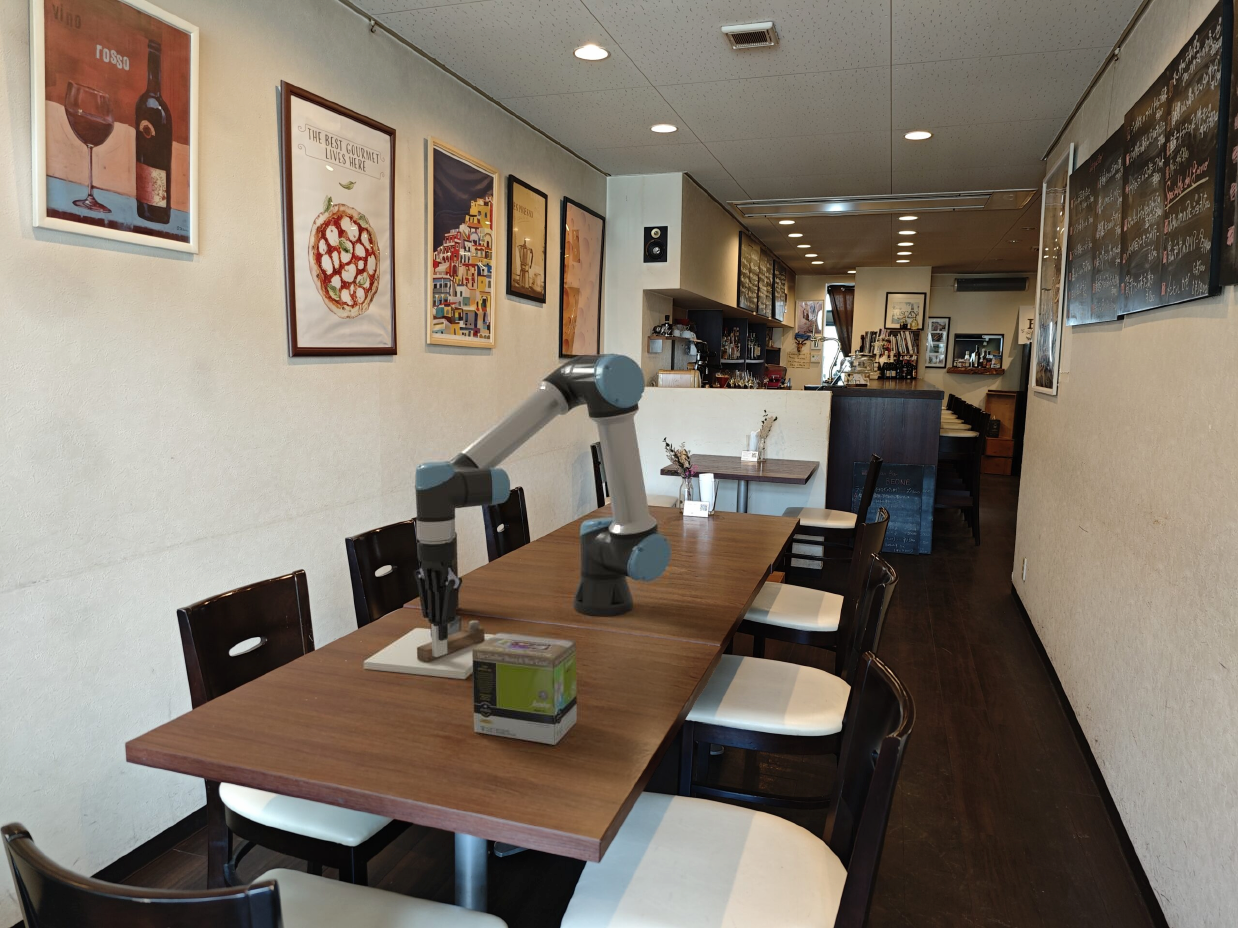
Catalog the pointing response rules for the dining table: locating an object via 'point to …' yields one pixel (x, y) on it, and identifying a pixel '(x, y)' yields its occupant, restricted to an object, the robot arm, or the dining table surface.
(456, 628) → the keeper
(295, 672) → the dining table surface
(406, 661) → the base plate
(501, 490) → the robot arm
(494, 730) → the tea box
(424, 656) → the link
